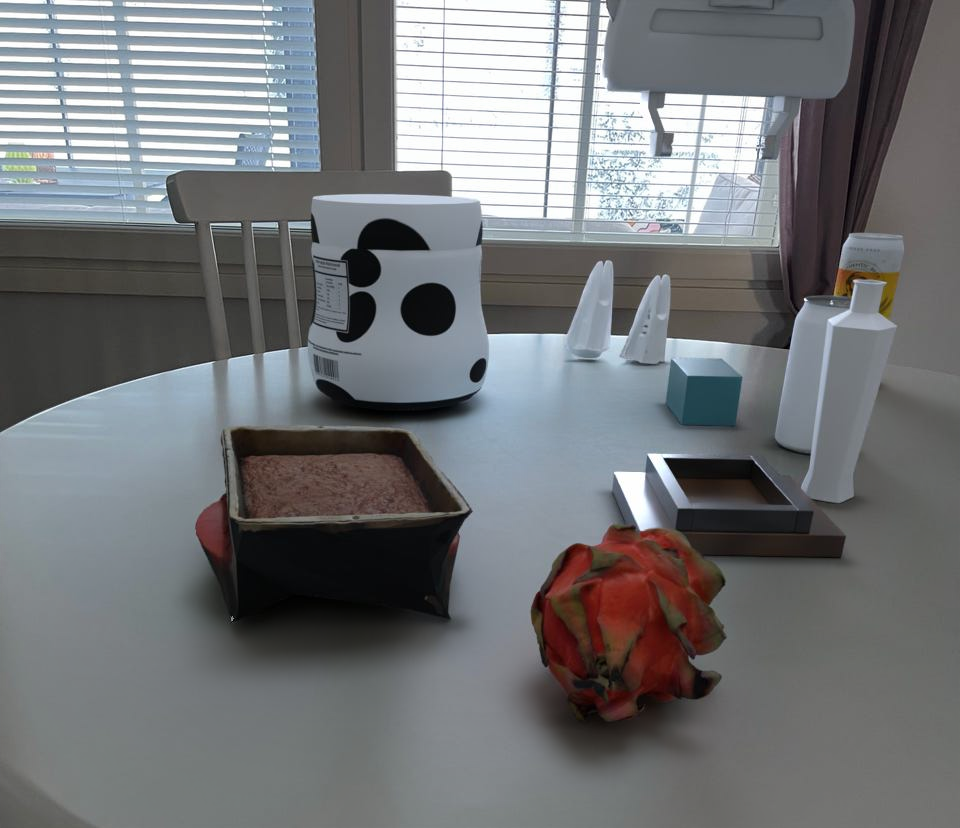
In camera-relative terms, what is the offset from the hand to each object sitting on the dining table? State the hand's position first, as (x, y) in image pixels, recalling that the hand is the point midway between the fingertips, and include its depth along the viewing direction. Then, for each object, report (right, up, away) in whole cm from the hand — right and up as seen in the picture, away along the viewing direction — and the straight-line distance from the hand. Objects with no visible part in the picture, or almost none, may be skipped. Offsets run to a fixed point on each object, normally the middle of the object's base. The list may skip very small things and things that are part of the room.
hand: (713, 158), depth 79 cm
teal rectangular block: (+1, -19, +11) cm, 22 cm away
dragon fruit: (-13, -44, -35) cm, 58 cm away
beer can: (+21, -12, +25) cm, 35 cm away
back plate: (-3, -33, -15) cm, 36 cm away
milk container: (-28, -17, +13) cm, 35 cm away
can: (+9, -24, +2) cm, 26 cm away
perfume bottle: (+6, -30, -9) cm, 32 cm away
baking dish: (-28, -38, -25) cm, 53 cm away
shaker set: (-4, -8, +32) cm, 33 cm away
